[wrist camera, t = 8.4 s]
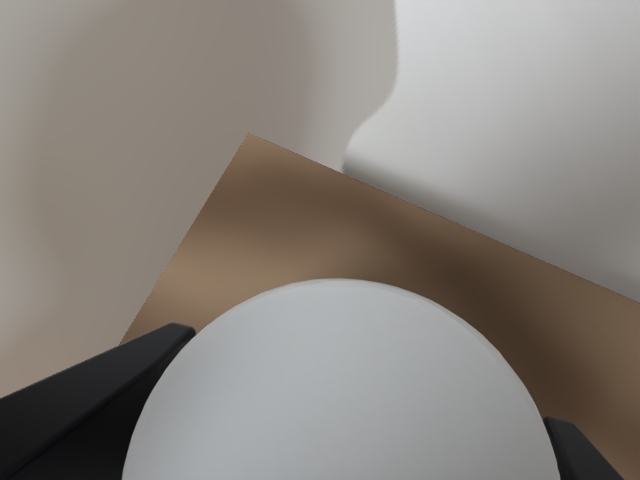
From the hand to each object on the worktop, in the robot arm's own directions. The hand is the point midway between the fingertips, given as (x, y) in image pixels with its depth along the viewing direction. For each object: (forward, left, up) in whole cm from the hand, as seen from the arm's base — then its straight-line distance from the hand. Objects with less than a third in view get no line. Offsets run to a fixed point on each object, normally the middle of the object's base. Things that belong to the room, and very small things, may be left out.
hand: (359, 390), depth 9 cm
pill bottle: (-1, 0, -7) cm, 7 cm away
